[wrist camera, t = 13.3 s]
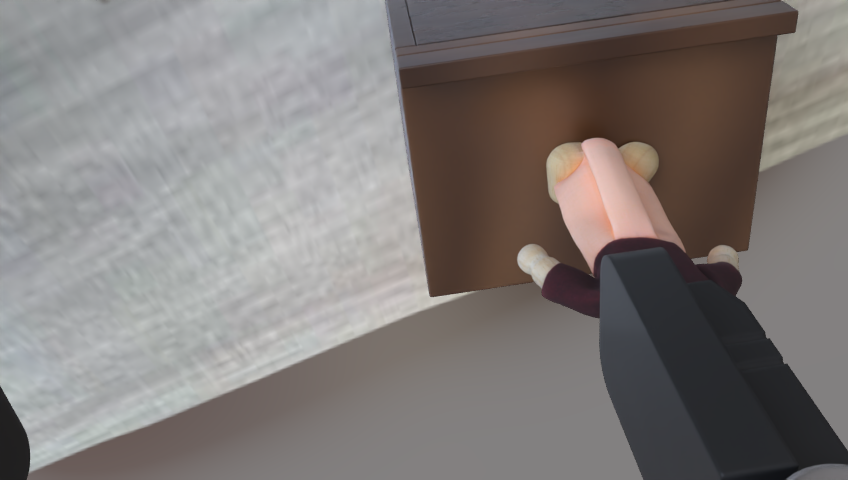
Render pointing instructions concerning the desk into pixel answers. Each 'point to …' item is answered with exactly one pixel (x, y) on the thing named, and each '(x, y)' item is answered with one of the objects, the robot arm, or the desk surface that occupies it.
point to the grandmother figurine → (612, 222)
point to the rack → (576, 118)
